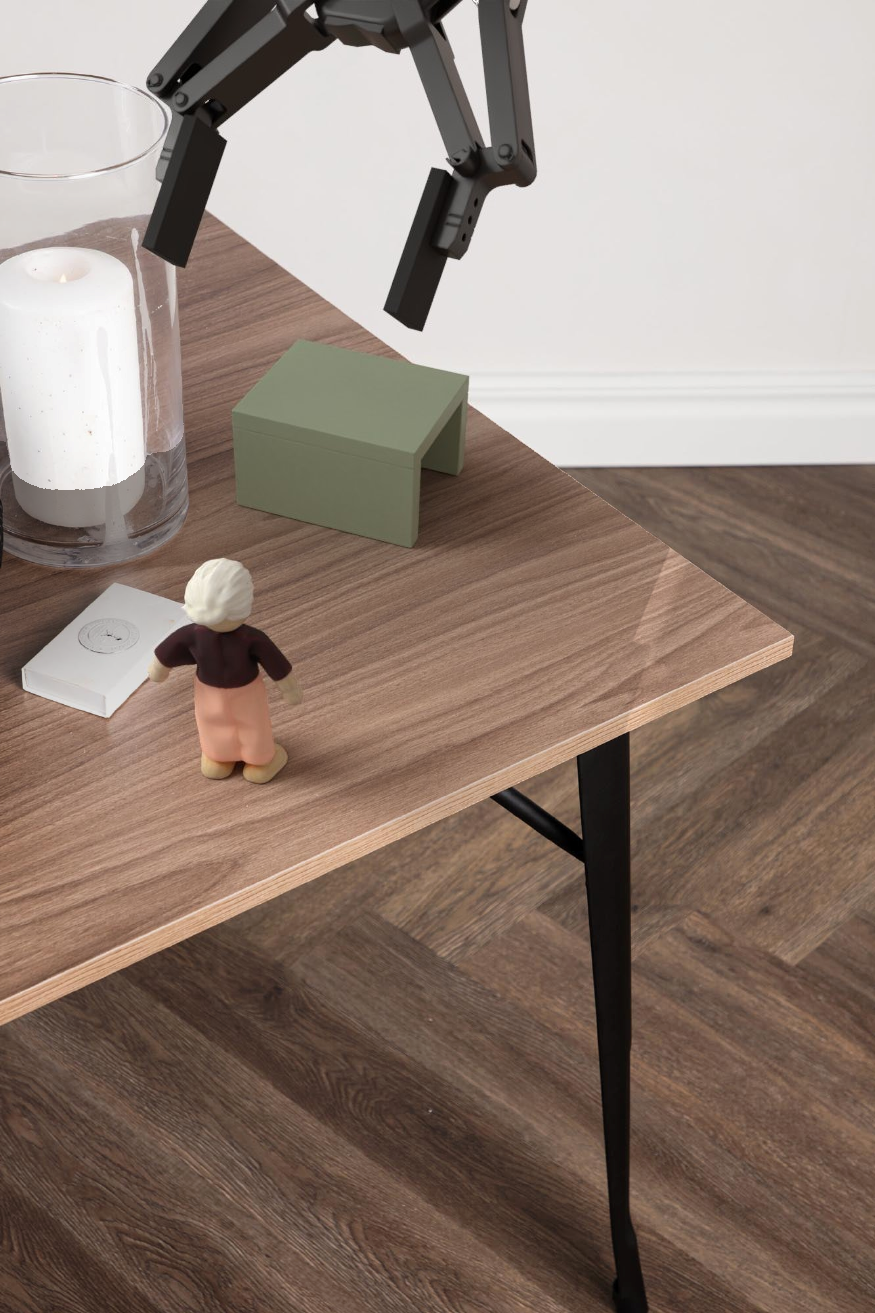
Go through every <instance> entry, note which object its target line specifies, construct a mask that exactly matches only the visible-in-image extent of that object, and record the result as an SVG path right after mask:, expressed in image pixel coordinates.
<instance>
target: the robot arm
mask: <svg viewBox="0 0 875 1313" xmlns="http://www.w3.org/2000/svg"><path fill="white" fill-rule="evenodd" d="M463 1H464V0H206V2H205V3H204V4H203V5H202V7H201V8H200V9H199V10H198V11H197V13H196V14H195V15H194V17H193V18H192V20H191V21H190V22H189V23H188V24H187V26H186V27H185V28H184V29H183V31H182V32H181V33H180V35H179V36H177V37H176V38H177V39H175V41H174V42H173V43H172V45H171V46H170V47H169V48H168V49H167V50H166V51H165V53H164V54H163V56H162V57H161V59H160V60H159V61H158V62H157V63H156V65H154V67H153V68H152V69H151V71H150V72H149V74H148V75H147V77H146V80H145V86H146V89H147V90H148V92H150V93H151V94H152V95H153V96H155V97H156V98H157V99H159V100H160V101H161V102H162V103H164V104H165V105H166V106H167V107H168V108H169V109H170V112H171V121H170V123H169V127H168V130H167V133H166V136H165V139H164V142H163V145H162V149H161V151H160V154H159V158H158V160H157V163H156V166H155V180H156V181H157V182H159V183H160V184H161V185H160V188H159V191H158V194H157V197H156V200H155V203H154V206H153V209H152V212H151V215H150V218H149V221H148V223H147V224H148V225H147V228H146V230H145V233H144V236H143V239H142V242H141V245H140V246H141V247H142V248H143V249H144V250H145V249H146V250H147V251H149V252H151V253H152V254H153V255H155V256H157V257H159V258H160V259H162V260H163V261H166V262H167V263H168V264H170V265H172V266H175V267H179V268H182V269H186V268H187V264H188V261H189V259H190V255H191V253H192V249H193V246H194V244H195V240H196V238H197V234H198V232H199V228H200V225H201V222H202V219H203V216H204V214H205V210H206V207H207V204H208V201H209V198H210V195H211V192H212V190H213V186H214V183H215V180H216V177H217V174H218V172H219V168H220V165H221V161H222V159H223V156H224V153H225V149H226V146H227V144H228V140H227V139H226V138H225V137H223V136H222V135H221V134H220V131H219V129H218V128H219V127H221V126H222V125H223V124H225V122H227V121H228V120H230V118H232V117H233V116H234V115H235V114H237V113H238V112H239V111H240V110H241V109H243V108H244V107H245V106H246V105H247V104H249V103H250V102H251V101H253V100H254V99H255V98H256V97H257V96H258V95H260V94H261V93H263V92H264V91H265V90H266V89H267V88H268V87H270V85H272V84H273V83H274V82H276V81H277V80H278V79H279V78H281V77H282V76H283V75H284V74H285V73H286V72H288V71H289V70H290V69H291V68H293V67H294V66H295V65H296V64H297V63H299V62H300V61H301V60H302V59H303V58H305V57H306V56H307V55H308V54H310V53H311V52H320V51H323V50H325V49H327V48H328V47H329V46H331V45H332V44H334V43H335V41H337V40H339V42H340V43H341V44H342V45H343V46H348V47H354V48H362V47H369V46H370V47H371V46H373V47H375V48H377V49H379V50H381V51H382V52H385V53H388V54H393V55H400V54H401V52H402V50H404V49H409V51H410V54H411V57H412V59H413V63H414V65H415V67H416V70H417V74H418V77H419V79H420V82H421V84H422V87H423V90H424V93H425V95H426V97H427V101H428V104H429V106H430V109H431V111H432V114H433V117H434V120H435V123H436V126H437V128H438V131H439V134H440V137H441V140H442V142H443V145H444V148H445V150H446V153H447V157H445V161H446V162H447V164H448V165H449V166H451V168H452V169H453V170H452V173H450V172H449V171H448V170H447V169H443V168H440V167H433V166H431V168H430V170H429V173H428V176H427V179H426V182H425V185H424V188H423V191H422V193H421V197H420V199H419V203H418V205H417V209H416V211H415V214H414V217H413V219H412V223H411V226H410V229H409V232H408V235H407V238H406V240H405V244H404V246H403V249H402V252H401V256H400V259H399V262H398V264H397V267H396V270H395V273H394V276H393V278H392V282H391V285H390V288H389V291H388V293H387V297H386V300H385V302H384V306H383V308H382V311H384V312H385V313H386V314H388V315H389V316H390V317H392V318H393V319H395V320H396V321H397V322H399V323H400V324H402V325H403V326H404V327H406V328H407V329H409V330H413V331H417V332H421V333H423V331H424V328H425V325H426V323H427V319H428V316H429V314H430V311H431V308H432V304H433V303H434V298H435V296H436V293H437V291H438V287H439V285H440V282H441V279H442V276H443V273H444V270H445V267H446V264H447V261H448V259H452V260H457V261H461V259H462V258H463V257H464V256H465V255H466V253H467V252H468V250H469V247H470V244H471V241H472V237H473V236H474V233H475V229H476V227H477V224H478V221H479V218H480V215H481V212H482V209H483V207H484V203H485V200H486V199H487V196H488V195H489V194H490V193H491V192H492V191H494V190H495V189H496V188H500V187H503V186H504V187H505V186H511V185H515V186H516V187H518V188H527V187H529V186H531V185H532V184H533V183H534V182H535V181H536V178H537V177H538V176H537V175H538V167H537V166H538V164H537V159H536V158H537V156H536V147H535V139H534V129H533V119H532V109H531V101H530V90H529V81H528V71H527V63H526V53H525V44H524V36H523V35H524V34H523V33H524V32H523V23H524V19H525V14H526V10H527V5H528V2H529V0H471V1H472V2H473V4H474V5H475V7H476V8H477V16H478V18H477V19H478V28H479V39H480V47H481V49H480V50H481V56H482V57H481V58H482V67H483V78H484V84H485V85H484V88H485V96H486V106H487V116H488V124H489V127H488V128H489V135H490V136H489V137H490V145H491V146H486V144H485V141H484V139H483V138H484V137H483V136H482V133H481V130H480V128H479V125H478V122H477V119H476V117H475V114H474V111H473V108H472V106H471V103H470V100H469V98H468V95H467V92H466V90H465V86H464V85H463V81H462V78H461V76H460V74H459V70H458V68H457V65H456V62H455V59H456V57H455V54H454V51H453V48H452V46H451V42H450V40H449V37H448V35H447V32H446V30H445V26H444V24H443V21H442V20H443V19H444V18H445V17H446V16H447V15H449V13H451V12H452V11H453V10H454V9H455V8H456V7H458V5H459V4H461V3H462V2H463ZM313 5H314V8H315V12H316V15H317V17H316V18H315V17H312V16H311V15H310V13H308V12H307V10H308V9H309V8H311V7H312V6H313Z"/></svg>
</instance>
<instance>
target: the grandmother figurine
mask: <svg viewBox="0 0 875 1313" xmlns="http://www.w3.org/2000/svg"><path fill="white" fill-rule="evenodd" d="M252 577H253V576H252V575H251V573H250V571H249V569H247V568H246V567H244V565H243V563H242V562H240V561H238V560H233V559H228V558H226V557H221V558H213V559H210V560H207V561H205V562H204V563H202V564H201V566H200V567H198V568H197V569H196V570H195V571H194V573H193V575H192V577H191V578H190V580H188V582H187V585H186V587H185V593H184V602H185V603H184V605H183V606H181V607H180V609H181V610H182V611H183V612H186V613H185V614H186V616H187V617H188V619H189V620H190V621H191V622H192V623H188V624H186V625H183V626H181V627H179V628H177V629H176V630H175V631H172V632H171V633H170V634H169V635H167V636H166V637H165V639H163V641H161V642H160V643H159V644H158V645H157V646H156V647H155V648H154V651H153V654H154V658H153V659H152V664H150V666H149V667H148V670H147V676H148V678H149V679H150V681H152V682H153V683H158V684H160V683H164V682H165V681H166V680H168V678H169V676H170V672H171V671H172V670H173V669H174V668H179V667H182V666H194V665H196V669H195V672H194V675H193V697H194V698H193V699H194V714H195V721H196V724H197V730H198V736H199V742H200V743H199V744H200V747H201V759H200V761H201V762H200V771H201V773H202V775H203V776H204V777H205V778H208V779H214V780H215V779H216V780H221V779H225V778H227V777H229V776H230V775H231V774H232V772H233V771H234V768H235V766H236V764H237V762H242V761H243V762H244V763H245V764H244V766H243V769H242V776H243V778H244V779H245V780H246V781H248V782H250V783H251V782H252V783H255V784H265V783H268V782H269V781H270V780H272V779H273V778H274V777H275V776H276V775H277V774H278V773H279V772H280V771H281V770H282V769H283V768H284V766H285V765H286V764H287V763H288V760H289V759H288V757H289V756H288V754H287V751H286V750H285V748H284V747H283V746H281V744H279V743H277V742H275V740H274V733H273V726H272V720H271V713H270V704H269V697H268V691H267V686H266V682H265V680H264V678H263V675H262V672H261V671H260V667H261V668H262V669H263V670H264V672H265V673H266V674H267V676H268V677H269V678H270V679H271V680H272V681H273V682H274V684H275V685H276V687H277V688H276V689H277V690H278V691H279V692H281V695H282V700H283V701H284V702H285V703H286V704H287V705H288V706H297V705H300V704H301V703H302V702H303V701H304V696H305V693H304V690H303V689H302V687H301V686H299V684H298V679H297V676H296V674H295V673H294V671H293V665H292V664H291V662H290V661H289V660H288V658H287V657H286V656H285V654H284V653H283V652H282V651H281V650H280V649H279V647H278V646H277V644H275V643H274V641H273V640H272V639H271V638H270V636H268V634H267V633H266V632H264V631H263V630H261V629H259V628H256V627H254V626H252V625H249V624H246V623H245V622H246V620H247V619H248V617H249V616H250V615H251V614H252V603H253V601H254V599H255V596H254V590H255V585H254V584H253V582H252ZM259 665H260V667H259Z"/></svg>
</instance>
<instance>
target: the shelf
mask: <svg viewBox="0 0 875 1313" xmlns="http://www.w3.org/2000/svg"><path fill="white" fill-rule="evenodd" d="M469 388H470V375H467V374H462V373H458V372H455V371H454V372H453V371H448V370H445V369H441V368H435V367H431V366H426V365H421V364H417V363H414V362H413V363H412V362H408V361H403V360H399V359H394V358H390V357H386V356H381V355H377V354H376V355H375V354H372V353H366V352H363V351H357V350H353V349H348V348H344V347H339V346H334V345H330V344H326V343H322V342H321V343H320V342H316V341H312V340H308V339H303V338H297V339H296V341H295V342H294V343H293V344H292V345H291V346H290V347H289V348H288V349H287V351H286V352H284V353H283V354H282V356H280V358H279V359H277V361H276V362H275V363H274V364H273V365H272V366H271V367H270V369H269V370H268V371H267V372H266V373H265V374H264V375H262V377H261V378H260V379H259V380H258V381H257V383H255V385H254V386H253V387H252V388H251V389H250V390H249V391H248V392H247V393H246V394H245V395H244V396H243V397H242V399H240V400H239V402H237V404H236V405H235V406H234V407H233V408H232V409H231V424H232V442H233V443H232V444H233V458H234V459H233V461H234V472H235V473H234V475H235V492H236V493H235V494H236V505H237V506H240V507H244V508H245V507H246V508H248V509H253V510H257V511H260V512H265V513H268V514H273V515H276V516H281V517H285V518H289V519H292V520H297V521H300V522H304V523H308V524H313V525H317V526H321V527H325V528H327V529H331V530H332V529H333V530H337V531H341V532H345V533H348V534H353V535H357V536H360V537H364V538H369V539H373V540H377V541H380V542H384V543H388V544H392V545H396V546H401V547H404V548H408V549H412V548H413V546H414V545H415V544H416V542H417V540H418V539H419V522H420V521H419V520H420V519H419V518H420V496H421V474H422V473H421V471H422V468H423V469H425V470H431V471H435V472H439V473H444V474H447V475H452V476H458V477H459V475H460V474H461V472H462V470H463V469H464V465H465V464H464V463H465V451H466V449H465V448H466V434H467V420H468V419H467V418H468V403H469V390H470V389H469Z"/></svg>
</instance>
